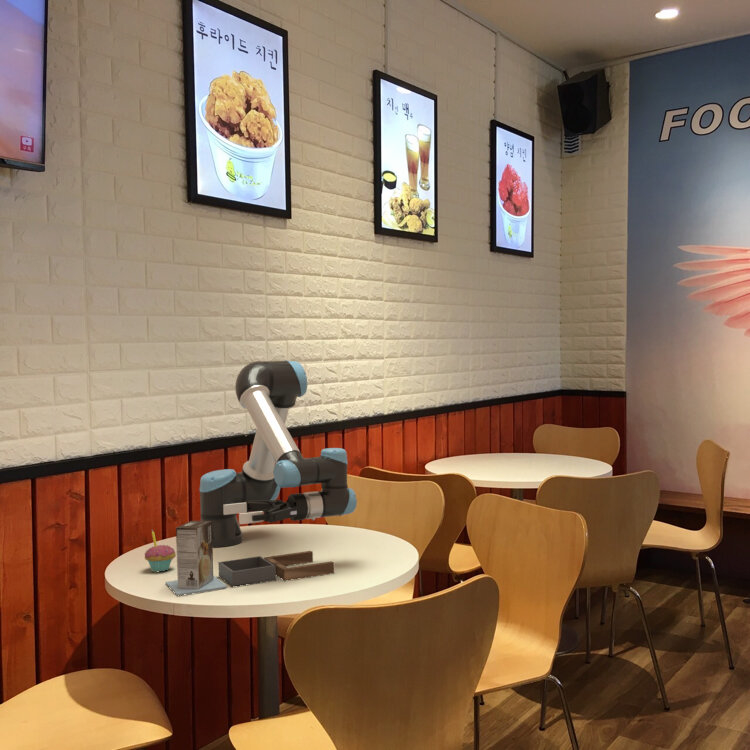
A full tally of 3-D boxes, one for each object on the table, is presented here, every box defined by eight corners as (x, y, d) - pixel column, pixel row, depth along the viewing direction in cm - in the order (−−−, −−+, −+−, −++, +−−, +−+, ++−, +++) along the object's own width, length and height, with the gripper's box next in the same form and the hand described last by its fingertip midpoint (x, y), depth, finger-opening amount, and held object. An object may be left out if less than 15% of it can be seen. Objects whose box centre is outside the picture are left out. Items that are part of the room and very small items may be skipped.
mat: (165, 584, 213) (165, 581, 213) (212, 577, 219) (212, 574, 219) (177, 596, 201) (177, 594, 201) (227, 588, 207) (226, 586, 207)
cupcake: (147, 575, 222) (145, 533, 222) (143, 568, 230) (142, 527, 229) (178, 571, 225) (177, 529, 225) (173, 564, 233) (172, 524, 233)
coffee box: (192, 578, 215) (190, 520, 215) (214, 579, 214) (212, 520, 214) (176, 588, 206) (175, 527, 206) (199, 589, 205) (198, 527, 205)
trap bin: (218, 576, 219) (218, 562, 219) (260, 570, 225) (260, 556, 225) (232, 587, 208) (232, 572, 208) (275, 580, 214) (275, 565, 214)
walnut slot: (264, 567, 228) (263, 557, 228) (310, 560, 234) (310, 550, 234) (284, 581, 213) (284, 570, 213) (333, 573, 220) (333, 562, 220)
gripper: (322, 528, 213) (246, 537, 203) (287, 511, 235) (218, 519, 225) (321, 500, 213) (246, 508, 203) (287, 486, 235) (217, 493, 225)
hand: (231, 514), depth 214 cm, fingers open, 13 cm apart
